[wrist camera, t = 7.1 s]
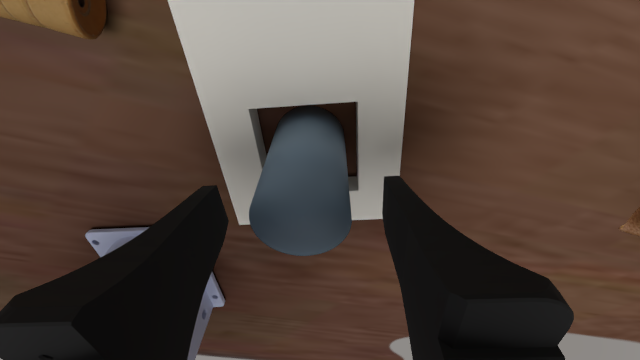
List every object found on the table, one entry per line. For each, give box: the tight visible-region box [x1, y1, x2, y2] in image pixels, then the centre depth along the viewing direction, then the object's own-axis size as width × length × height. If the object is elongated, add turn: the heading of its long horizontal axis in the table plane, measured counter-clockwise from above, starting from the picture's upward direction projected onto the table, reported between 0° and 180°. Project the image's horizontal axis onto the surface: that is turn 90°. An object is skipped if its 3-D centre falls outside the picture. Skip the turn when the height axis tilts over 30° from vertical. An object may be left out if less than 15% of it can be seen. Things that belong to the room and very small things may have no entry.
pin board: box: [168, 0, 414, 225], centre depth 13 cm, size 22×10×2 cm, turn 5°
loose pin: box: [249, 106, 352, 256], centre depth 15 cm, size 4×4×7 cm
